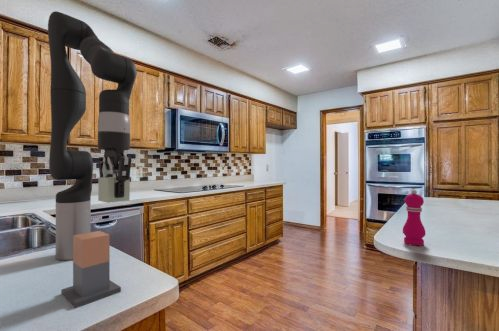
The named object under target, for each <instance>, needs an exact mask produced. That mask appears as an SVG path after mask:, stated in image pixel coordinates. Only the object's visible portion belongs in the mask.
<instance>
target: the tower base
mask: <svg viewBox="0 0 499 331" xmlns="http://www.w3.org/2000/svg"><path fill="white" fill-rule="evenodd" d="M110 262H111V261H108V262H104V263H101V264H97V265H93V266H89V267H86V268H81V267H80V266H78V265H77V264H75V263H74V262H73V261H72V268H73V269H72V286H68V287H65V288H62V289H61V292H60V293H61V295H62V296H63V298H64V299H66V301H68V302H69V303H70V304H71V305H72V306H73V307H74V308H75V309H76V308H79V307H82V306H85V305H88V304H90V303H93V302H96V301H99V300H101V299H104V298H107V297H110V296H113V295H115V294H118V293H121V292H122V286H120V285H118V284H117V283H115V282H113V281H112V280H111V278H110V271H111V269H110Z"/></svg>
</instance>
